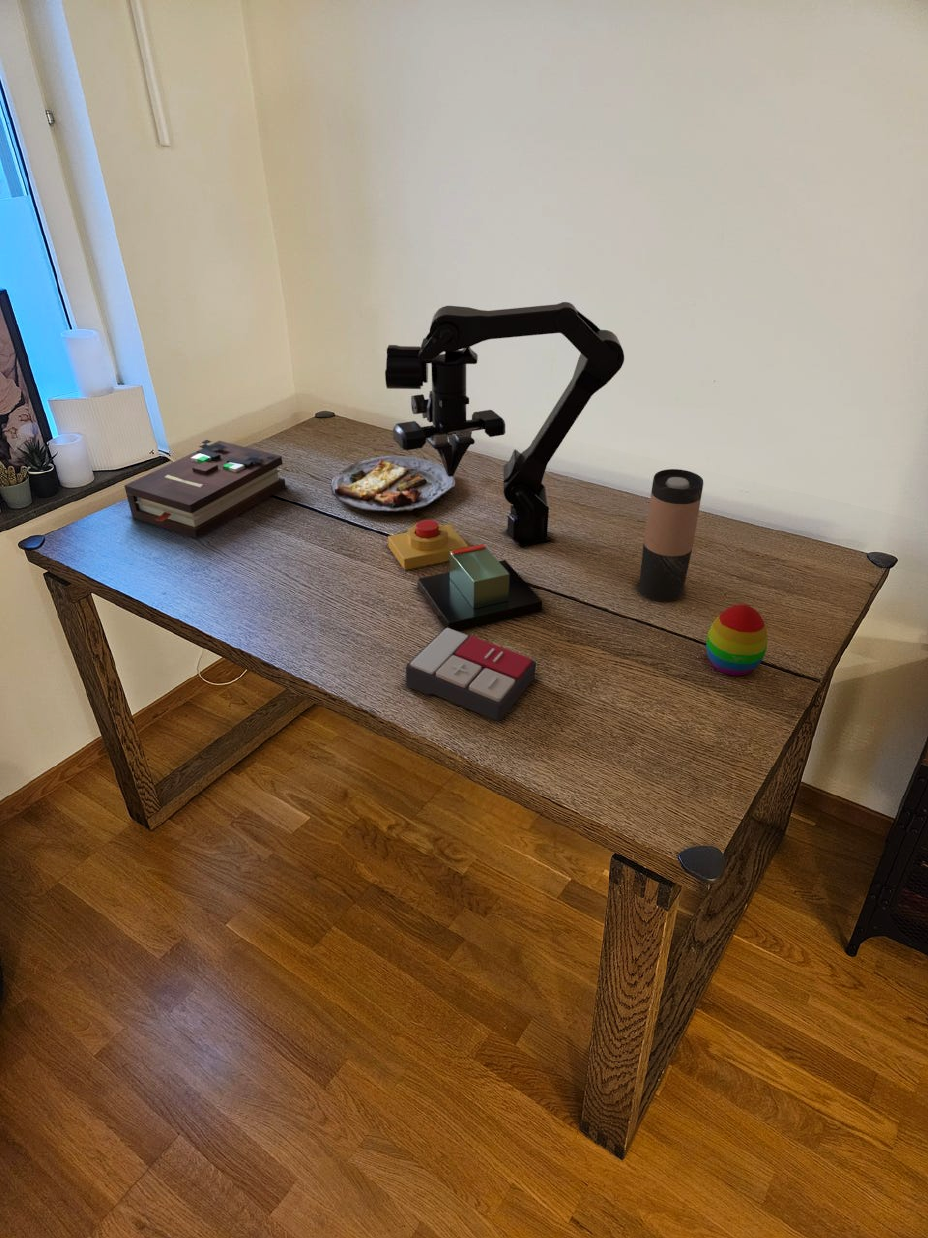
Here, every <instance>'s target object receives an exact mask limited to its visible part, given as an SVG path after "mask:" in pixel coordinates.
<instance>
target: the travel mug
mask: <svg viewBox="0 0 928 1238" xmlns="http://www.w3.org/2000/svg"><path fill="white" fill-rule="evenodd" d="M703 489H704V478H703V477H702V476H700V475H699V474H697V473H696V472H693V471H690V470H685V469H681V468H680V469H679V468H668V469H662V470H659V471H657V472H656V473H655V474H654V475H653V479H652V484H651V492H650V498H649V504H648V510H647V516H646V525H645V530H644V536H643V545H642V552H641V563H640V570H639V571H640V572H639V580H638V581H639V582H638V590H639V592H640V594H642V595H643V596H644V597H645V598H647V599H649V600H652V601H655V602H661V603H662V602H665V603H666V602H673V601H676V600H678V599H680V598H681V596H682V595H683V592H684V588H685V583H686V580H687V574H688V570H689V566H690V561H691V557H692V552H693V546H694V541H695V536H696V530H697V524H698V518H699V512H700V507H701V502H702V501H701V500H702V495H703Z"/></svg>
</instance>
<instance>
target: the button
mask: <svg viewBox="0 0 928 1238" xmlns="http://www.w3.org/2000/svg"><path fill="white" fill-rule="evenodd" d="M415 525H416V535H417V536H418V537H420V538H433V537H436V536H438V535H439V525H440V524H439V523H438V522H437V521H436V520H432V519H423V520H420V521H418V522H416V524H415Z"/></svg>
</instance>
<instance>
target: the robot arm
mask: <svg viewBox="0 0 928 1238" xmlns="http://www.w3.org/2000/svg"><path fill="white" fill-rule="evenodd" d="M550 334H551V335H553V334H561V335H562V336H564V337H565V338H566V340H567V341H569V342H570V343H571V344H572V345H573V347H575V348H576V350H577V351H578V352H579V353H580V354H579V357H578V359H577V363H576V365H575V369H574V372H573V375H572V378H571V380H570V381H569V383H568V385H567V386H566V388H565V390H563V392H562V394H561V396H560V397H559V399H558V400H557V402H556V404H555V405H554V406H553V408H552V409H551V411H550V413H549V414H548V416H547V418H546V419H545V421H544V423H543V424H542V425H541V427H540V429H539V431H538V432H537V434H536V435H535V437H534V438H533V440H532V442H531V443H530V445H529V446H528V447H527V448H526V449H525V450H523V451H522V452H520V451H519V450H517V449H513V451H512V454H511V456H510V458H509V460H508V461H507V462H506V463H505V464H504V465H503V469H502V471H503V473H502V474H503V475H502V477H503V478H502V479H503V496H504V498H505V500H506V501H507V503H508V504H510V510H509V511H510V512H509V514H508V515H507V529H505V533H506V534H507V535H508V536H509V538H511V540H512V541H513V542H514V543H516V545H517V546H518V547H520V548H524V547H528V546H533V545H538V544H543V543H548V542H551V541H552V537H551V535H549V534H548V530H549V528H548V527H549V512H550V506H549V505H548V498H547V489H546V486H545V485H544V484H543V480H544V476H545V472H546V469H547V466H548V464H549V462H550V461H551V459H552V458H553V456H554V454H555V453H556V452H557V450H558V449H559V447H560V446H561V444H562V443H563V441H564V439H565V438H566V437H567V435H568V433H570V430H571V429H572V427H573V425H574V424H575V422H576V421H577V420H578V418H579V416H580V415H581V413H583V410H584V408H585V407H586V406H587V404H588V403H589V401H590V399H591V398H592V397H593V396H594V395H595V394H596V393H597V392H598V391H599V390H601V389H602V388H604V387H605V386H606V385H608V383H609V382H610V381H611V380H612V379H613V378H614V377H615V375H617V373H618V372H619V371H620V370H621V369H622V367H623V365H624V363H625V353H624V349H623V347H622V344H621V342H620V340H619V339H618V336H617V335H616V334H615V333H614V332H613V331H611V330H607V329H600V327H599V326H598V325H596V324H595V323H594V322H593V321H591V319H589V318H588V317H587V316H586V315H584V314H583V313H582V312H580V311H579V310H578V309H577V308H576V307H575V305H574V304H573V303H570V302H568V301H563V302H559V303H556V304H555V303H554V304H546V305H535V306H526V307H525V306H524V307H523V306H522V307H513V308H504V309H503V308H502V309H492V310H486V309H485V310H484V309H483V310H482V309H477V308H473V307H469V306H457V305H446V306H442V307H440V308H438V309H437V310H436V312H435V313H434V314H433V316H432V319H431V322H430V326H429V331H428V333H427V335H425V337H424V338H423V339H422V342H421V345H420V346H413V345H412V346H405V345H404V346H403V345H402V346H401V345H397V344H388V346H387V348H386V363H385V371H384V378H385V387H386V389H389V390H392V389H393V390H421V389H422V387H424V384H427V383H429V364H431V365H430V367H431V390H429V394H428V398H426V399H425V395H424V394H414V395H410V405H411V412H412V414H413V415H419V414H421V415H422V419H426V421H427V422H428V423H432V425H426V426H420V424H419V423H417V421H416V420H412V421H406V422H405V421H404V422H397V423H396V424H395V425H394V426H393V429H392V440H394V441H395V443H396V444H397V445H398V446H399V447H400V448H401V449H402V450H404V451H411V450H417V449H418V450H419V449H422V448H423V447H424V446H425V445H426V443H428V444H429V445H430V446H431V447H432V448H433V449H434V450H436V451H437V453H438V455H439V457H440V461H441V463H442V466H443V467H444V468H445V471H446V474H447V475H448V476H449V477H451V476H453V477H454V475H455V474H456V471H457V469H458V467H459V465H460V463H461V461H462V459H463V458H464V456H465V454H466V453H467V451H468V449H469V448H470V446H471V445H475V443H476V439H474V438H473V437H472V434H473V432H475V431H482V430H484V433H485V434H486V435H487V436H488V437H489V438H493V437H499V436H504V435H505V434H506V422H505V419H504V418H503V417H502V416H500V415H499V414H498V413H496V412H495V411H494V410H492V409H487V410H486V409H485V410H480V411H474V412H473V413H472V414H471V419H467V405H469V404H470V397H469V396H467V365H477V364H478V359H479V357H478V356H479V355H478V354H477V352H475V351H474V350H473V349H472V347H473V346H476V345H477V344H479V343H481V342H485V341H489V340H496V339H497V340H498V339H507V338H519V337H530V336H540V335H541V336H542V335H550Z"/></svg>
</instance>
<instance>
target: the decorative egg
mask: <svg viewBox="0 0 928 1238" xmlns="http://www.w3.org/2000/svg"><path fill="white" fill-rule="evenodd" d="M705 643H706V644H705V648H706V654H707V657H708V659H709V662H710V663H711V664H712V666H713V667H714V668H715V669H716V670H717V671H718V672H720V673H722V674H726V675H729V676H734V677H735V676H736V677H737V676H738V677H739V676H744V675H748V674H749V673H751V672H752V671H754V670H755V669H757V667H758V666H759V665H760V664H761V663H762V661H763V659H764V657H765V655H766V653H767V649H768V631H767V626H766V623H765V621H764V619H763V617H762V616H761V614H760V613H759V612H758V611H757V610H756V609H755V608H754V607H752V606H750V605H749V604H741V603H740V604H734V605H732V606H729V607H728V608H727V609H725V610H723V611H722V612H721V613H719V615H718V616H717V617H716V618H715V619H714V620H713V622H712V624H711V626H710V627H709V629H708V633H707V636H706V641H705Z"/></svg>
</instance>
